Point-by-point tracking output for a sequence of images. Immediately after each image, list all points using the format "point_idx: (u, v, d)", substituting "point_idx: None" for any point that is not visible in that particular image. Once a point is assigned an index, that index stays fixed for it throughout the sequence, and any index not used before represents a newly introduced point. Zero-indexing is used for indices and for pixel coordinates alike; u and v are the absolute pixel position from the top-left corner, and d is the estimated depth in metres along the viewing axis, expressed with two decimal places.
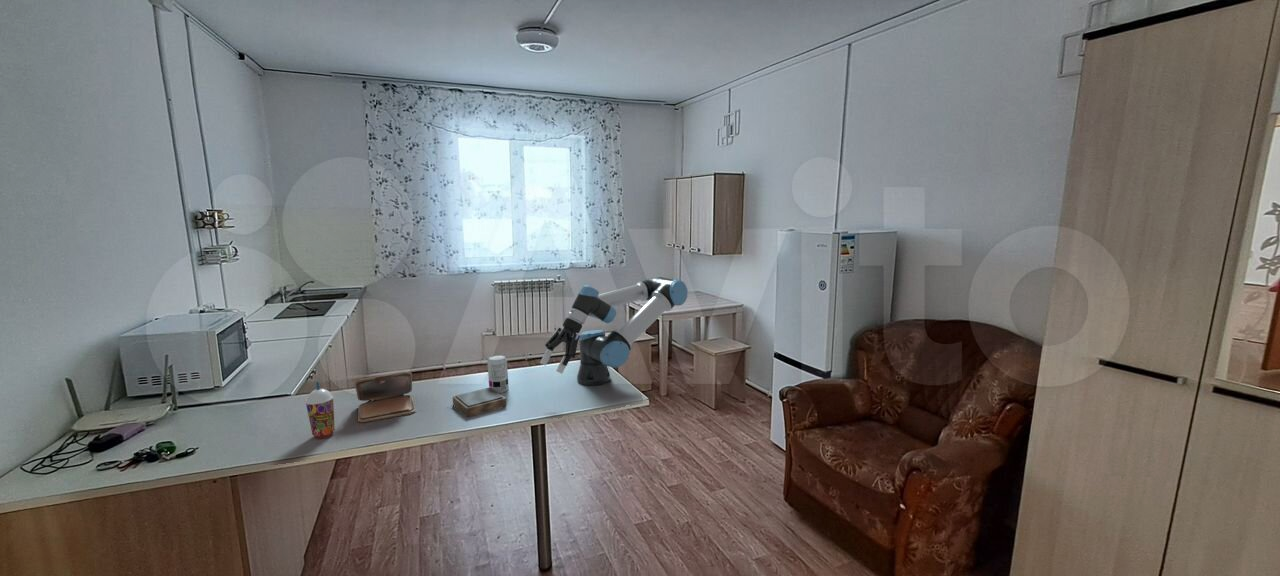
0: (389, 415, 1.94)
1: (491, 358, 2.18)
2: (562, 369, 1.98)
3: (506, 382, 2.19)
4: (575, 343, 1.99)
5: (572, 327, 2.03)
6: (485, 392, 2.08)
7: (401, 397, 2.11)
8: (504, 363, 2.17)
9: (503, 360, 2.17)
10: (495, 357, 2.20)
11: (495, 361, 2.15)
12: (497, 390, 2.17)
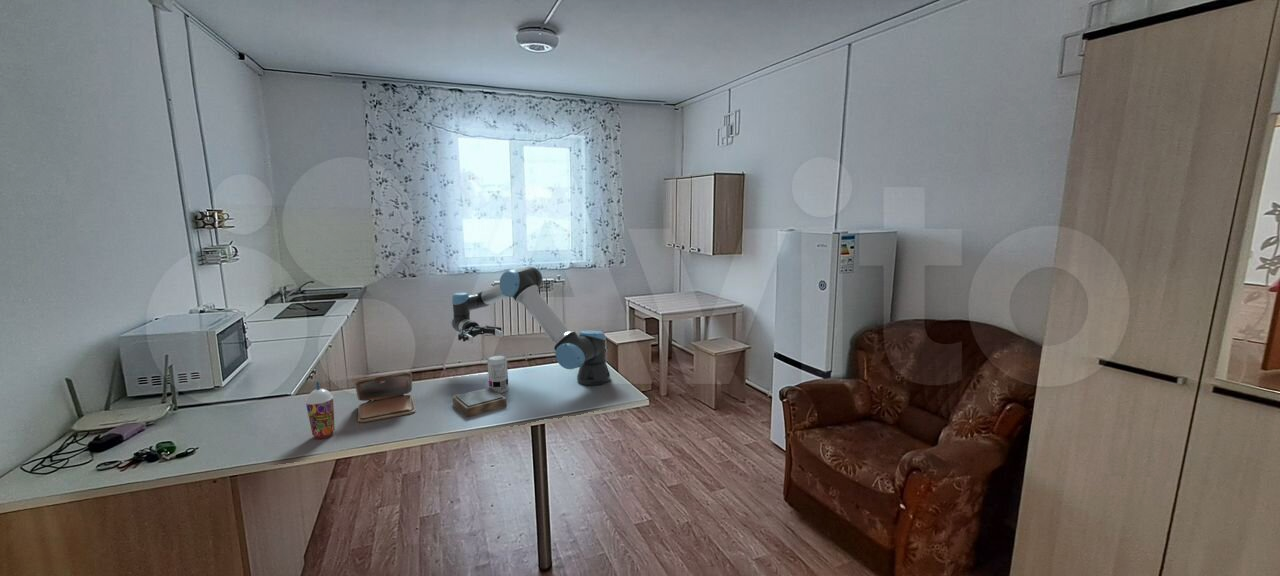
0: (389, 415, 1.94)
1: (491, 358, 2.18)
2: (469, 337, 2.22)
3: (506, 382, 2.19)
4: None
5: None
6: (485, 392, 2.08)
7: (401, 397, 2.11)
8: (504, 363, 2.17)
9: (503, 360, 2.17)
10: (495, 357, 2.20)
11: (495, 361, 2.15)
12: (497, 390, 2.17)
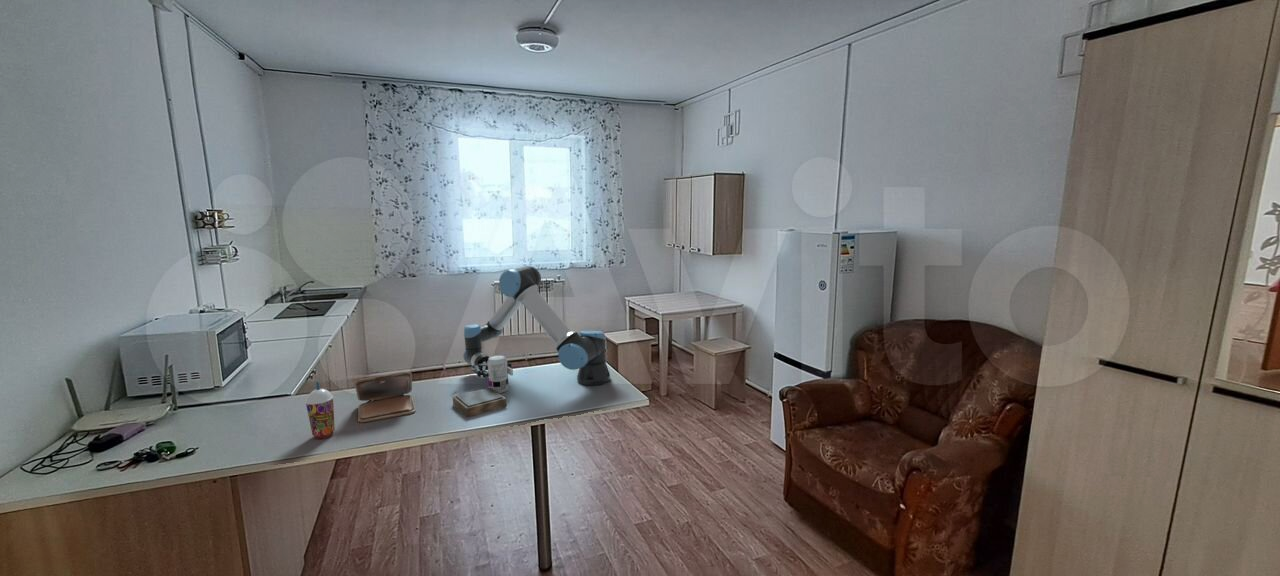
0: (389, 415, 1.94)
1: (491, 358, 2.18)
2: (490, 374, 2.15)
3: (506, 382, 2.19)
4: (475, 369, 2.22)
5: None
6: (485, 392, 2.08)
7: (401, 397, 2.11)
8: (504, 363, 2.17)
9: (503, 360, 2.17)
10: (495, 357, 2.20)
11: (495, 361, 2.15)
12: (497, 390, 2.17)
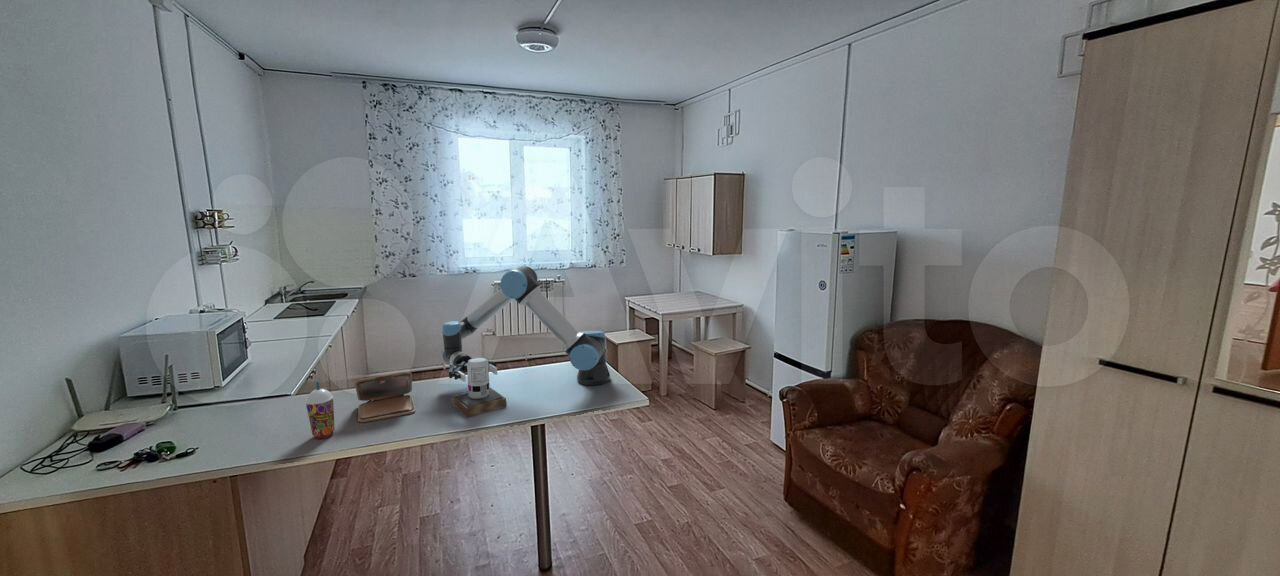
0: (389, 415, 1.94)
1: (471, 360, 2.02)
2: (462, 376, 1.97)
3: (487, 387, 2.02)
4: None
5: None
6: None
7: (401, 397, 2.11)
8: (485, 366, 2.01)
9: (484, 363, 2.01)
10: (476, 359, 2.03)
11: (476, 364, 1.99)
12: (477, 395, 2.00)
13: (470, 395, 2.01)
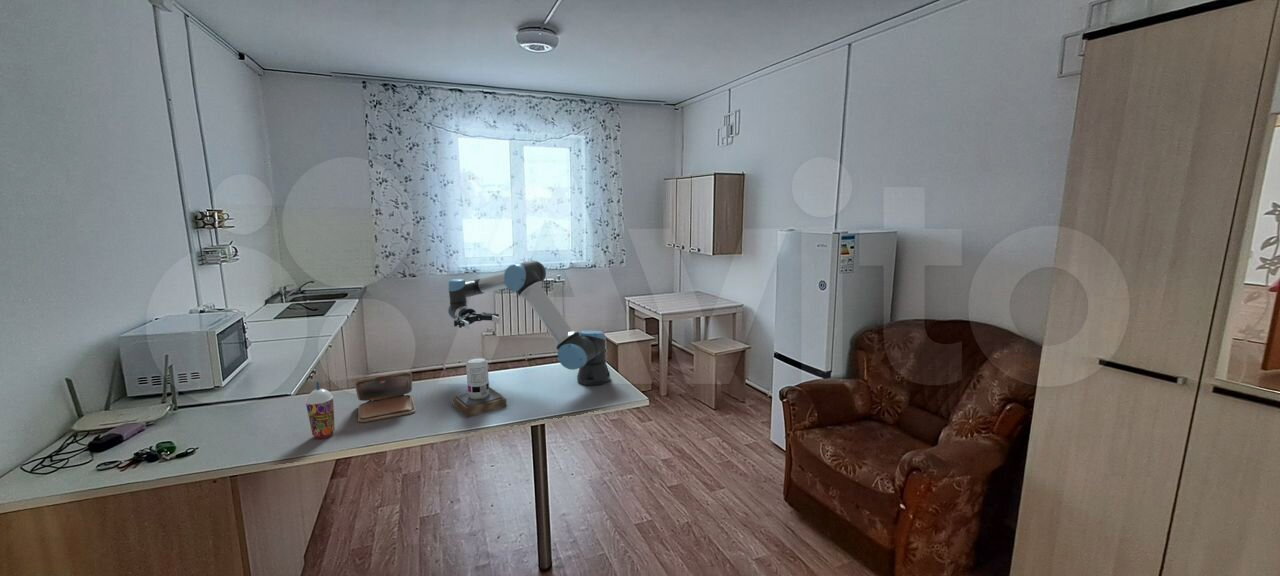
0: (389, 415, 1.94)
1: (470, 361, 2.01)
2: (465, 323, 2.15)
3: (487, 387, 2.02)
4: None
5: None
6: None
7: (401, 397, 2.11)
8: (484, 366, 2.00)
9: (483, 363, 2.00)
10: (475, 360, 2.03)
11: (475, 365, 1.98)
12: (477, 396, 2.00)
13: (470, 396, 2.01)
